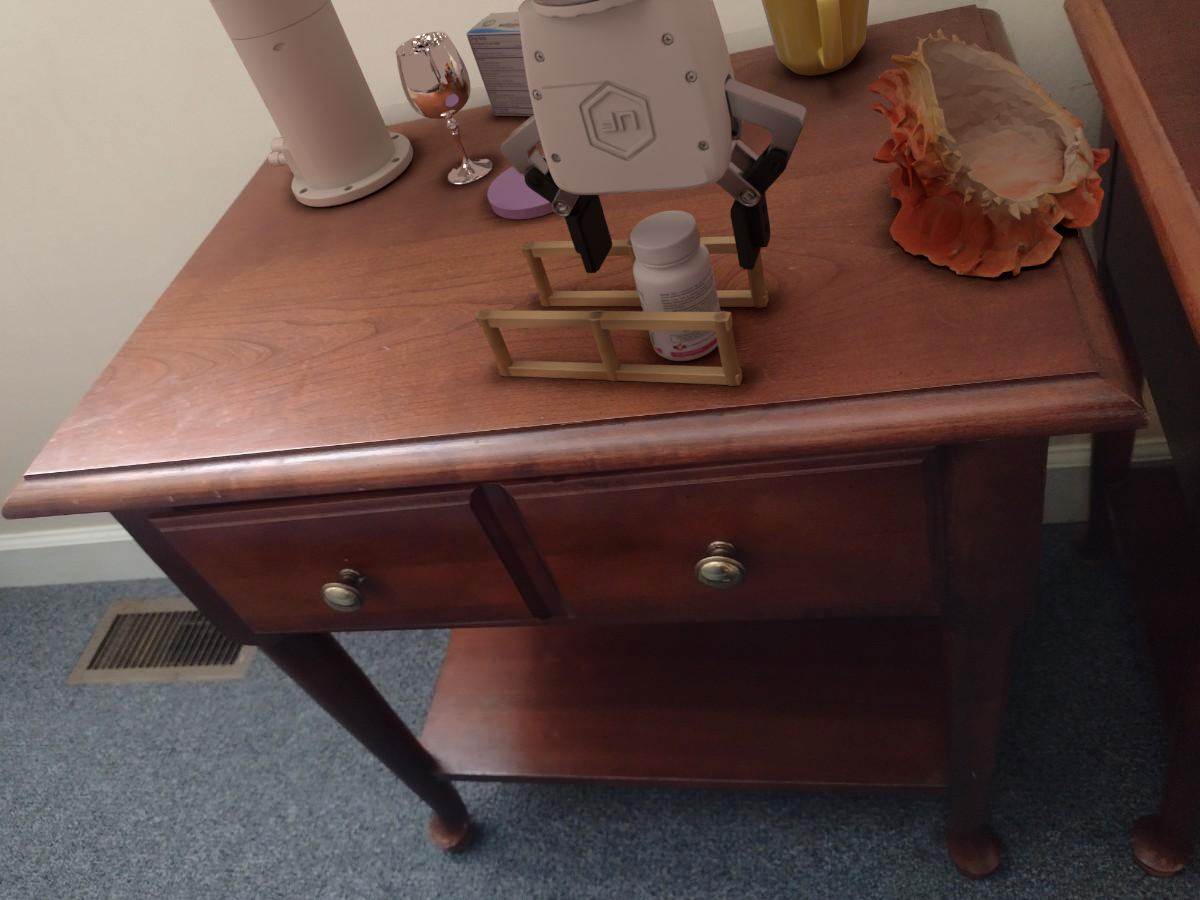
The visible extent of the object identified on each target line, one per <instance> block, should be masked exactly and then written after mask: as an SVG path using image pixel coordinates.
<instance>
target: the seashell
mask: <svg viewBox="0 0 1200 900" xmlns="http://www.w3.org/2000/svg"><path fill="white" fill-rule="evenodd" d="M936 31H937V32H936V33H937V38H936V37H935V36H934V35H933V34H932V33H931V32H929V33H928V37H926V38H921V37H919V36H916V35H915V38H916V40H917V50H912V51H911V54H910V55H908V56H907V55H903V54H898V53H897V54H891V59H890V61H891V63H893V64H894V65H895V66H897V67H898V68H893V69H887V70H885V71H884V72H882V73H880V75H879V76H878V79H877V80H875V81H874V82H871V83H870V84H867V85H866V90H867V91H868V92H871V93H874V94H878V95H879V94H880V95H882V96H883V97H885V99H887V100H888V101H889V102H890V103H891V104H892V105H893V108H891V109H888V108H887V107H886V106H885V105H884V104H882V103H877V102H875V103H873V105H872V106H871V107H870V108H871V109H872V110H874V111H875V112H877V113H879V114H882V115H884V117H885V118H886V120H887V122H888V123H889V124H890V125H891V126H890V128H891V130H890V136H891V138H889V139H886V141H885V142H884V143H883V144H882V146H881V147H880V148H879V150H878V151H877V152H876V153H875V156H873V157H872V161H874V162H877V163H878V164H892V163H894V164H896V166H897V168H896V169H895V170H894V171H892V173H890V174H889V175H888V187H890V188H891V190H890V192H891V196H890V197H891V198H895V199H897V200H899V201H900V202H901V208H900V210H899V211H898V213H897V215H896V216H895V218H894V220H893V222H892V224H891V226H890V228H889V233H890V236H891V237H892V239H893V241H894V242H895V243H897V244H899V245H900V247H902V248H903V250H904V251H905V252H907V253H910V254H911V255H913V256H920V255H922V256H924V257H926V258H927V259H928V260H929V262H930V263H932V264H933V265H936V266H941V267H942V266H946V267H949V269H950V271H954V272H955V273H956V275H962V276H971V277H982V278H983V277H984V278H998V277H999V276H1001V274H1003V273H1004V272H1006V273H1008V272H1011V271H1012V275H1013V276H1014V277H1015V276H1017V275H1019V274H1020V273H1021V268H1022V267H1023V268H1024V267H1031V266H1033V267H1034V266H1039V265H1043V264H1045V263H1046V262H1047V261H1049V260H1050V259H1051V258H1053V255H1054V253H1055V251H1056V250H1057V249H1058V248H1059V246H1060V245H1061V242H1062V240H1063V235H1061V234H1060V233H1058V232H1057V231H1056V230H1055V229H1054V227H1055V226H1056V225H1058V224H1061V225H1062V226H1063V227H1065V228H1066V229H1076V230H1077V229H1078V230H1081V229H1086V228H1088V227H1090V226H1091V225H1092V224H1094V223H1095V222H1096V221H1097V220H1098V217H1099V214H1100V213H1101V208H1102V201H1103V199H1104V196H1105V190H1104V189H1103V188H1102V187H1101V186H1100V185H1101V183H1102V180H1103V178H1102V177H1101V176H1100V175H1099V173H1098V171H1097V170H1098V169H1099V168H1100V167H1101V166H1102V165H1103V164H1105V163H1106V162H1107V161H1108V159H1109V158H1110V156H1111V151H1110V148H1105V147H1104V148H1101V149H1100V148H1091V145H1090V143H1089V141H1088V139H1087V136H1086V134H1085V131H1084V124H1085V122H1084V121H1083V120H1082V119H1080V118H1079V117H1078V116H1075V115H1074V114H1072V113H1071V112H1070V111H1068V110H1066V108H1067V106H1063V107H1061V106H1060V105H1058V103H1056V102H1055V101H1054V100H1053V99H1052V98H1051V97H1052V94H1051V93H1047V91H1046V90H1045V89H1044V88H1043V86H1042V85H1041V82H1037V81H1036V80H1035V79H1033V78H1032V76H1030V75H1029V74H1028V73H1027V72H1026V71H1024V69H1023V68H1021V66H1020V65H1018V64H1016V63H1015V62H1013V61H1010V60H1008V59H1006V58H1005V57H1002V56H1001V54H999V53H998V52H997V51H991V50H990V51H989V50H985V49H983V48H982V47H980V46H979V45H977V43H976V41H974V42H973V43H972V44H969V45H968V44H967V43H966V41H965V40H964V39H963V40H960V38H959V37H958V36H957V34H956V33H954V34H951V39H949V38H947V37H946V36H945V34H944V32H943V30H942V28H939V29H937V30H936Z"/></svg>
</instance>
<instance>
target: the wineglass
mask: <svg viewBox="0 0 1200 900" xmlns="http://www.w3.org/2000/svg"><path fill="white" fill-rule="evenodd" d="M395 58H396V66H397V70H398V74H399V80H400V84H401V87H402V90H403V93H404V95H405V97H406V99H407V101H408V103H409V105H410V106H411V108H412V109H413V110H414V111H415V112H416V113H417V114H419V115H420V116H422V117H424V118H428V119H432V120H433V119H434V120H443V119H446V128H447V130H448V132H449V133H450V135H451V136H452V137H453V139H454V141H455V142H456V145H457V147H458V150H459V153H460V155H461V163H459V164H458V165H456V166H455V167H453V168H452V169H451V170H450V172H449V173H448V175H447V181H448V182H449V183H450V184H452V185H466V184H470V183H473V182H476V181H478V180H481V179H482V178H484V177H485V176H486V175H488V174H489V173H491V171H492V169H493V167H494V163H493V162H492V160H491V159H489V158H484V157H483V158H481V157H480V158H473V159H471V158H470V157H469V156H468V154H467V152H466V150H465V146H464V144H463V142H462V138H461V133H460V125H459V123H458V121H457V120H456V119H455V118H454V117H453V116H454V115H456V114H457V113H459V112H460V111H461V110H462V109H463V108H464V107H465V106H466V105H467V103H468V102H469V99H470V96H471V87H472V86H471V79H470V75H469V72H468V70H467V67H466V65H465V61H463V58H462V57H461V54H460V53H459V51H458V49H457V47H456V46H455V44H454V43H453V41H452V39H451V37H450V36H449V35H448V33H447V32H444V31H430V32H427V33H422V34H419V35H416V36H414V37H412V38H409V39H408V40H406V41H405V42H403V43H401V44H400V45H399V46H398V47H397V48H396V49H395Z"/></svg>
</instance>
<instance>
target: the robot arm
mask: <svg viewBox="0 0 1200 900" xmlns="http://www.w3.org/2000/svg"><path fill="white" fill-rule="evenodd" d="M208 1H209V3H210V4H211V7H212V8H213V10H214V12H215V14H216V15H217V17H218V20H219V22H220V23H221V25H222V27H223V29H224V30H225V33H226V34H227V36H228V37H229V40H230V42H231V43H232V45H233V47H234V49H235V50H236V53H237V54H238V56H239V58H240V60H241V62H242V64H243V66H244V68H245V70H246V72H247V73H248V75H249V77H250V79H251V81H252V83H253V85H254V86H255V88H256V90H257V92H258V94H259V97H260V98H261V101H262V102H263V104H264V106H265V107H266V109H267V111H268V113H269V116H270V117H271V119H272V121H273V123H274V125H275V127H276V129H277V130H278V132H279V134H280V136H281V137H280V136H279V137H274V138H272V139H271V141H270V150H271V152H270V153H269V154H268V156H267V160H268V163H269V165H270V166H271V167H275V168H276V167H284V166H288V167H289V169H290V171H291V173H292V175H293V178H292V181H291V186H290V187H291V192H292V193H293V195H294V197H295V199H296V200H297V201H298V202H299V203H301V204H302V205H305V206H308V207H315V208H324V207H334V206H339V205H343V204H346V203H350V202H353V201H356V200H360V199H361V198H364V197H366V196H369V195H371V194H373V193H375V192H377V191H379V190H380V189H382V188H384V187H386V186H387V185H389V184H390V183H392V182H393V181H394V180H395V179H397V178H398V177H399V176H401V174H403V173H404V171H405V170H406V169H407V168H408V167H409V165H410V164H411V162H412V160H413V157H414V149H413V146H412V145H411V142H410V140H409V139H408V137H407V136H406V135H404V134H401V133H398V132H394V131H389V130H388V127H387V125H386V123H385V121H384V118H383V116H382V114H381V111H380V109H379V107H378V105H377V102H376V100H375V97H374V96H373V93H372V92H371V89H370V86H369V84H368V81H367V80H366V77H365V74H364V72H363V70H362V68H361V66H360V63H359V61H358V58H357V57H356V54H355V52H354V50H353V47H352V45H351V43H350V41H349V38H348V36H347V34H346V32H345V29H344V27H343V25H342V23H341V20H340V18H339V16H338V14H337V11H336V9H335V6H334V4H333V2H332V0H208ZM517 12H518V14H519V25H520V35H521V44H522V51H523V58H524V65H525V72H526V77H527V83H528V88H529V93H530V98H531V103H532V107H533V111H534V115H532V116H529V117H528V118H527V119H526V120H525V121H524V122H522V123H521V124H520V125H519V126H518V127H516V128H515V129H514V130H512V131H511V132H510V133H509V134H508V136H507V137H506V138H505V139H504V141H503V142H502V143H501V145H500V148H499V149H500V154H502V156H503V157H504V158H505V159H506V160H507V162H509V164H510V165H511V167H512V166H513V167H514V168H515V169H516V170H517V171H518V172H519V174H522V175H523V176H524V177H525V183H526V185H527V186H528V187H529V188H530V189H532V190H533V191H535V192H536V193H537V194H539V195H540V196H542V197H543V198H545V199H546V200H547V201H549V202H550V203H552V209H553V211H554V212H553V213H554V214H556V216H558V217H562V218H564V219H565V223H566V226H567V229H568V232H569V235H570V239H571V241H573V244H574V248H575V250H576V252H577V253H578V254H580V255H581V257H580V259H581V261H582V264H583V268H584V271H585V273H587V274H596V273H597V272H598V271H600V269H601V267H602V266H603V264H604V262H605V260H606V259H607V257H608V256H607V255H608V253H609V251H610V249H611V248H612V240H613V239H612V237H611V233H610V230H609V226H608V223H607V218H606V216H605V213H604V208H603V205H602V201H601V199H600V196H601V195H619V194H633V193H634V194H636V193H650V192H653V193H654V192H667V191H680V190H690V189H691V190H692V189H698V188H704V187H707V186H710V185H711V186H712V185H714V184H715V183H716V184H717V185H718V186H719V187H721V188H722V189H723V190H724V191H725V192H726V194H727V193H728V194H729V196H731V197H732V198H733V199H734V200H733V203H732V205H731V208H730V213H729V214H730V221H731V225H732V231H733V236H734V238H735V243H736V249H737V253H736V254H737V259H738V264H739V267H740V268H742V269H743V270H747V269H753V268H754V266H755V263H756V260H757V258H758V255H759V252H761V249H762V248H767V247H768V246H769V243H770V240H771V223H770V218H769V217H770V215H769V210H768V204H767V197H766V196H767V195H766V192H767V191H768V189H770V188H771V186H773V184H774V183H775V182H776V181H777V180H778V178H780V176H782V174H783V173H784V172H785V170H786V169H787V166H788V164H789V161H790V159H791V157H792V155H793V152H794V150H795V147H796V145H797V143H798V140H799V138H800V136H801V134H802V130H803V128H804V126H805V123H806V120H807V118H808V111H807V108H806V107H805V106H803V105H802V104H800V103H797V102H795V101H793V100H789V99H786V98H785V97H781V96H779V95H775V94H773V93H770V92H768V91H765V90H762V89H760V88H757V87H755V86H752V85H749V84H747V83H743V82H741V81H739V80H736V78H735V74H734V69H733V66H732V61H731V56H730V54H729V48H728V45H727V42H726V38H725V34H724V30H723V28H722V24H721V21H720V17H719V14H718V11H717V7H716V6H715V3H714V0H523V1H522V2H521V4H520V5H519V6H518V8H517ZM743 122H745V123H749V124H751V125H754V126H756V127H759V128H762V129H764V130H766V131H768V132H769V133H770V135H771V141H770V143H769V144H768V145H767V146H766V148H765V149H764V150H763V151H762V153H761V154H760V155H757V154H756V153H755V152H754V151H753V150H752V149H751V148H750V147H749V146H747V145H746V144H745V143H744V142H743V141H742V140H740V139H742V135H743ZM539 144H541V147H542V151H543V155H545V158H542V157H541V156H542V154H541V152H540V151H539V150H538V148H537V145H539Z"/></svg>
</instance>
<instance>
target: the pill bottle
mask: <svg viewBox="0 0 1200 900" xmlns="http://www.w3.org/2000/svg"><path fill="white" fill-rule="evenodd" d="M698 227H699V226H698V222H697V220H696V218H695V217H694V216H693V215H692V214H691V213H690V212H687V211H683V210H673V209H672V210H664V211H659V212H656V213H653V214H650V215H648V216H646V217H644V218H643V219H641V220H640V221H639V222H637V223H636V225H634V227H633V228H632V230H631V231H630V235H629V237H630V238H629V239H631V243H632V247H633V251H634V254H635V258H636V259H635V262H634V265H633V267H632V274H633V280H634V281H635V282H634V283H635V287H636V291H638V294H639V298H640V301H641V305H642V306H641V308H642V311H646V312H720V311H722V310H721V307H720V305H719V301H718V295H717V291H716V290H717V286H716V281H715V275H714V270H713V265H712V259H711V254H709V252H708V250H707V248H706V246H705V245H704V244H703V243H701V242H700V237H701V235H700V232H699V228H698ZM647 331H648V335H649V339H650V343H651V345H652V347H653V350H654V351H655V352H656V354H657V355H659V356H660V357H662V358H664V359H666V360H669V361H674V362H689V361H694V360H697V359H700V358H702V357H704V356H707V355H708V354H710V353H711V352H712V351H714V350H715V349H716V348H718V343H717V338H716V333H715V331H682V330H647Z"/></svg>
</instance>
